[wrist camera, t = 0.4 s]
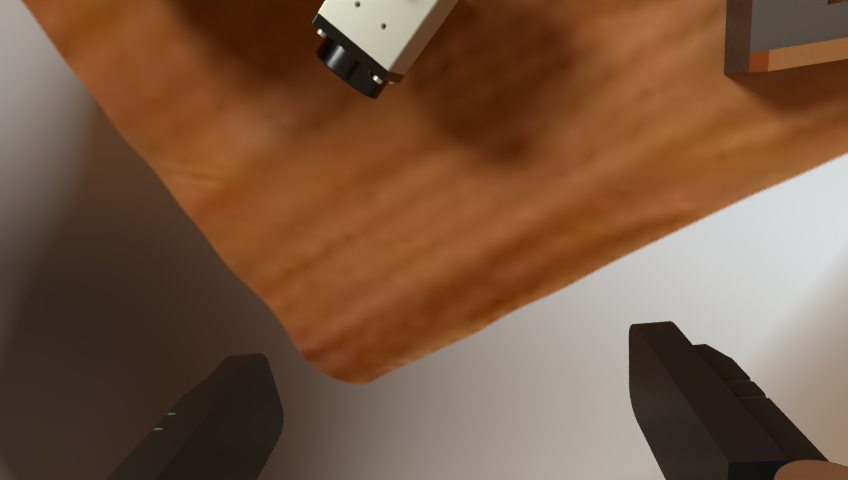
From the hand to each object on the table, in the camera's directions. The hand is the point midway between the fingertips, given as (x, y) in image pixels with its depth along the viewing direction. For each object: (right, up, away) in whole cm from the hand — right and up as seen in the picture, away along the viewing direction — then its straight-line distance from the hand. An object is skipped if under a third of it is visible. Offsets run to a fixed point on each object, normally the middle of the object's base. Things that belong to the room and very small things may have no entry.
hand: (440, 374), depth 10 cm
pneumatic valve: (-1, +20, +23) cm, 30 cm away
